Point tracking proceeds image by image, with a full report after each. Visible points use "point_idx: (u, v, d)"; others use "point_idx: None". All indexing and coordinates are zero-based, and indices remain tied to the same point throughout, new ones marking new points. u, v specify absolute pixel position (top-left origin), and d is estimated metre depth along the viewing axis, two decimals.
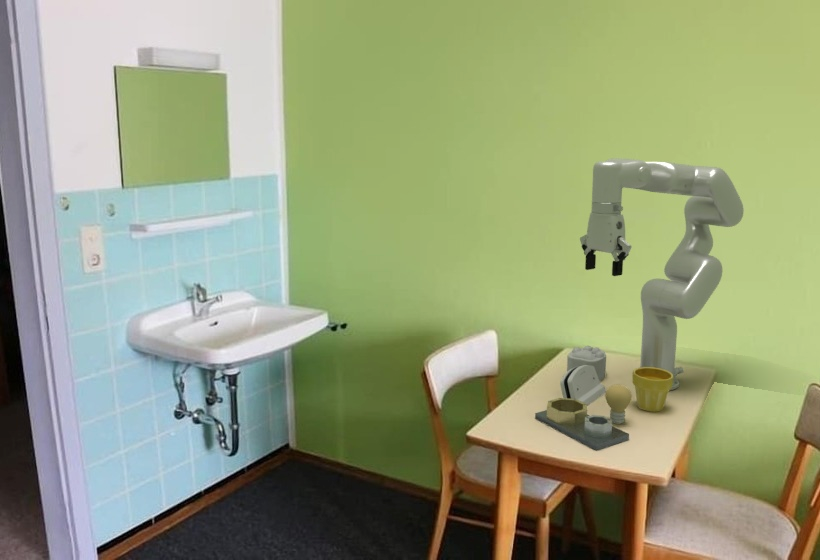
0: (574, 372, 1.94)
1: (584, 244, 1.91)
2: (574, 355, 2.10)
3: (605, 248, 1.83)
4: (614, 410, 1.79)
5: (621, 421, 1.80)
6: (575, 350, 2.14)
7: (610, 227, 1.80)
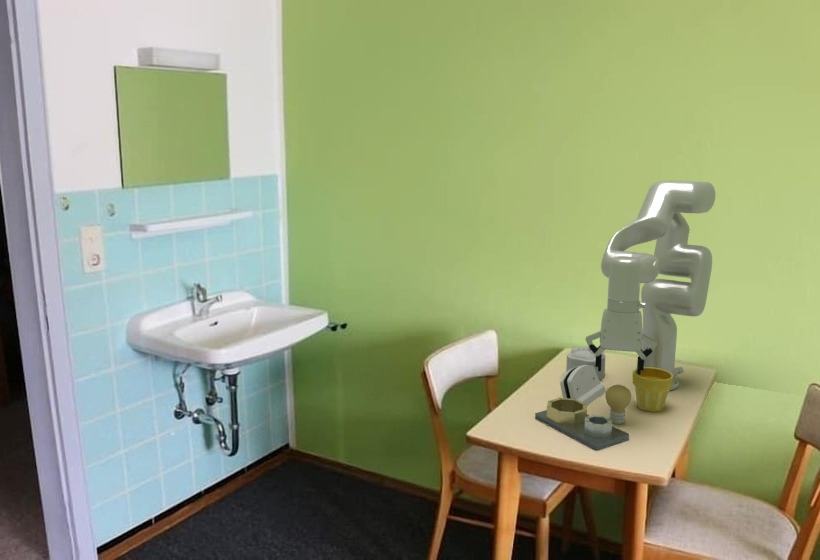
0: (574, 372, 1.94)
1: (592, 344, 1.78)
2: (573, 355, 2.10)
3: (630, 347, 1.74)
4: (614, 410, 1.79)
5: (621, 421, 1.80)
6: (574, 350, 2.14)
7: (638, 326, 1.72)
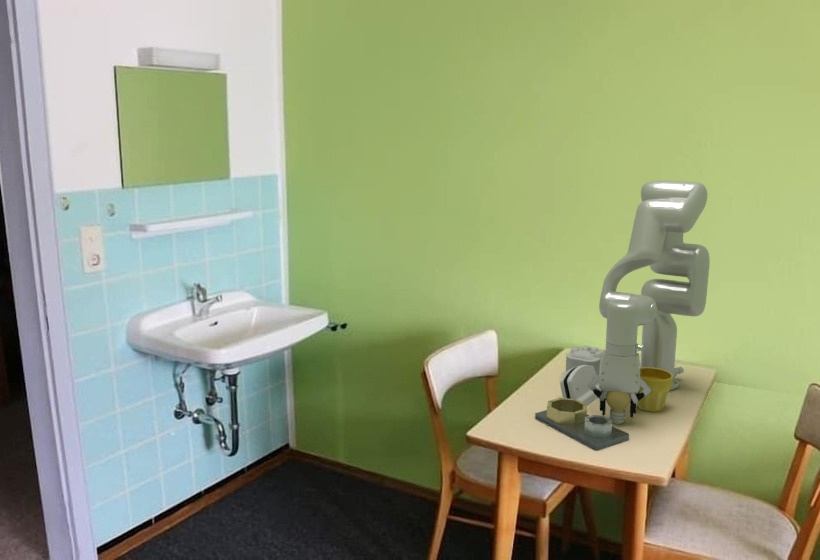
0: (574, 372, 1.94)
1: (596, 389, 1.80)
2: (573, 355, 2.10)
3: (628, 389, 1.77)
4: (614, 410, 1.79)
5: (621, 421, 1.79)
6: (574, 350, 2.14)
7: (636, 368, 1.75)
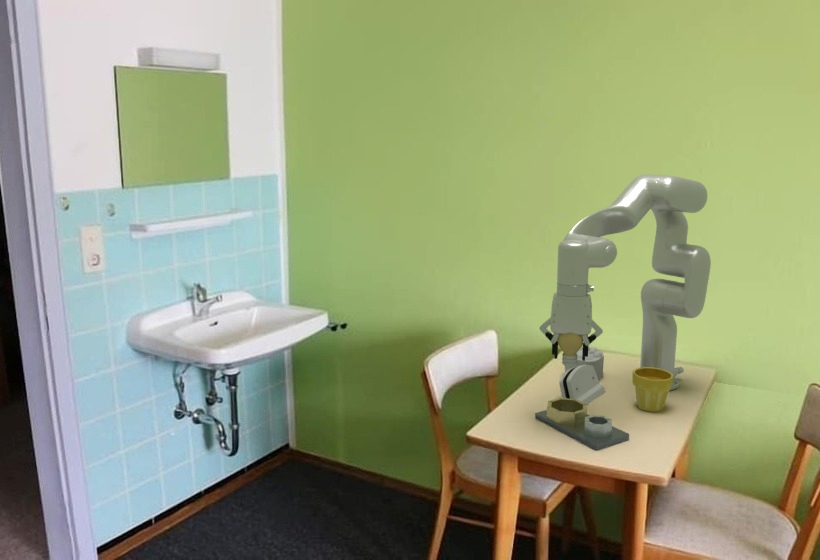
0: (573, 372, 1.94)
1: (548, 332, 1.77)
2: None
3: (580, 331, 1.74)
4: (566, 353, 1.76)
5: (573, 364, 1.77)
6: None
7: (587, 309, 1.72)
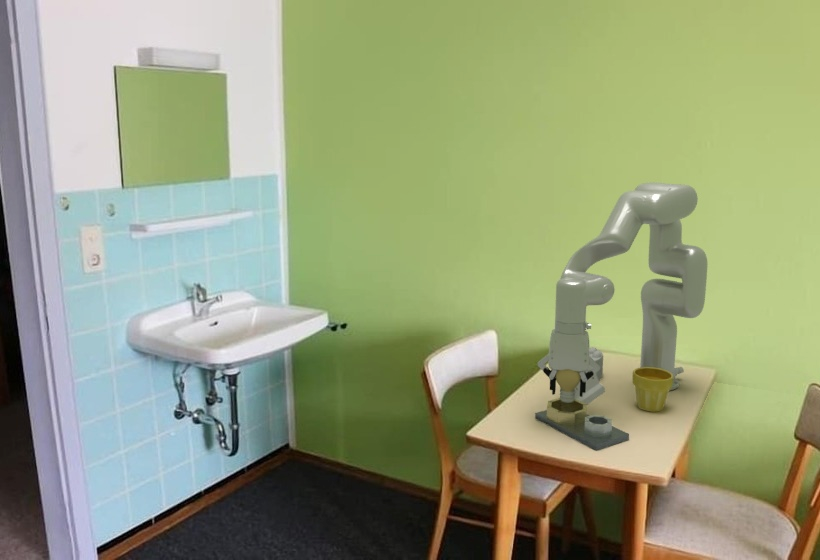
0: None
1: (546, 368, 1.79)
2: None
3: (577, 368, 1.76)
4: (563, 389, 1.78)
5: (571, 400, 1.79)
6: None
7: (585, 346, 1.74)
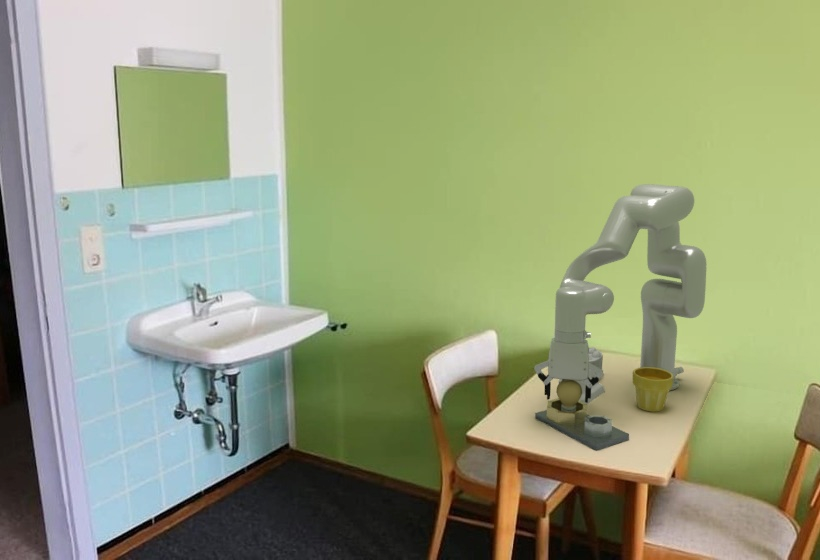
0: None
1: (541, 373, 1.80)
2: None
3: (577, 376, 1.76)
4: (565, 404, 1.80)
5: None
6: None
7: (584, 355, 1.75)
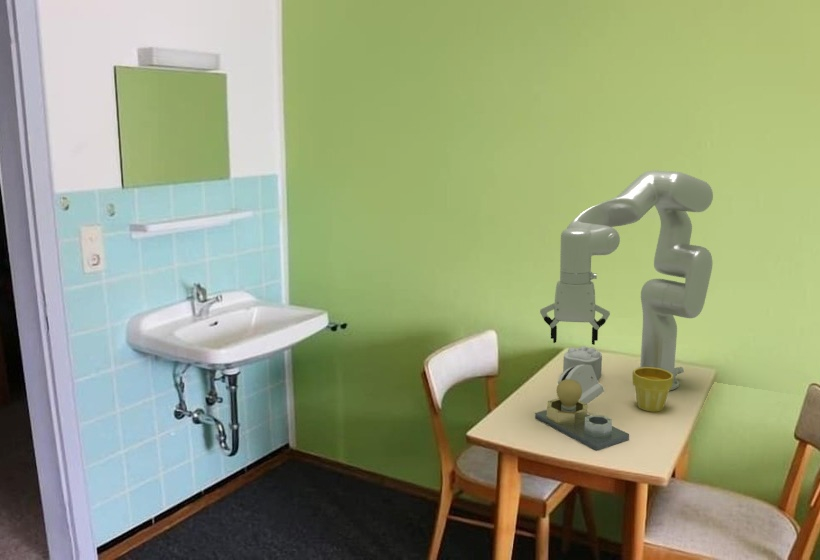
0: (572, 371, 1.94)
1: (547, 316, 1.79)
2: (570, 355, 2.10)
3: (583, 318, 1.75)
4: (565, 404, 1.80)
5: None
6: (571, 350, 2.13)
7: (591, 296, 1.74)
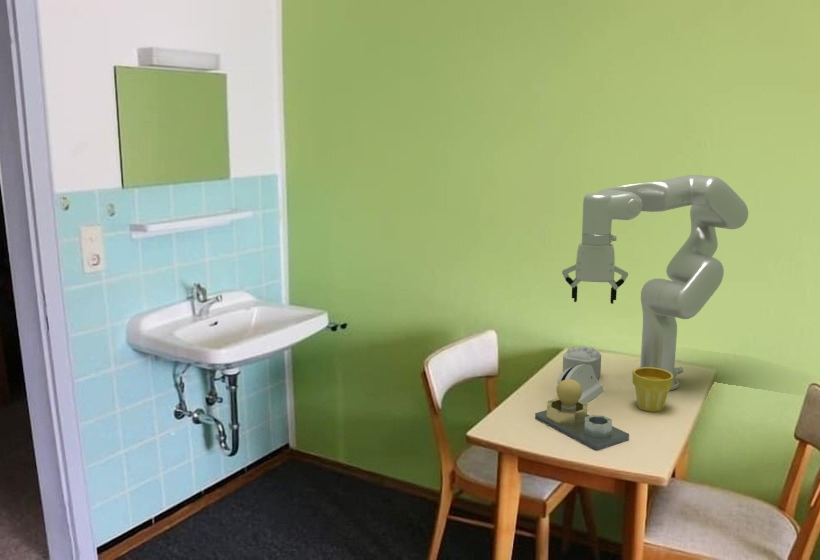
0: (571, 371, 1.94)
1: (568, 277, 1.90)
2: (570, 355, 2.10)
3: (603, 278, 1.86)
4: (565, 404, 1.80)
5: None
6: (570, 350, 2.13)
7: (610, 257, 1.85)
